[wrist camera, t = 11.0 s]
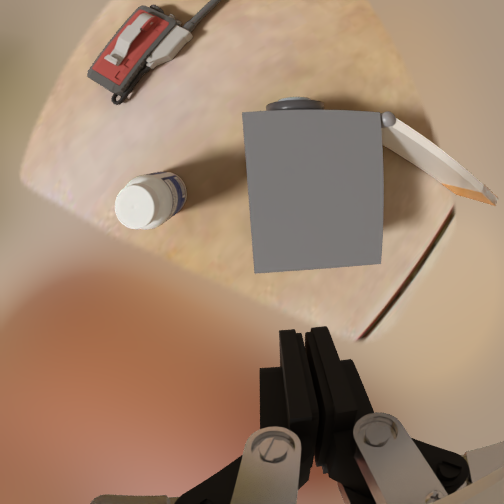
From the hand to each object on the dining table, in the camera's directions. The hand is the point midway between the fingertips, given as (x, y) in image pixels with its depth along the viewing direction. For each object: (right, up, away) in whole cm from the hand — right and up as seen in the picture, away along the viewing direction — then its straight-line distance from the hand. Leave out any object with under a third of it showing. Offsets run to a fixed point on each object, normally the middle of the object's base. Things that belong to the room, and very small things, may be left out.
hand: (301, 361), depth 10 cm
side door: (+18, +15, +21) cm, 32 cm away
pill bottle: (-12, +11, +23) cm, 28 cm away
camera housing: (+4, +12, +22) cm, 26 cm away
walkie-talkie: (-13, +31, +17) cm, 38 cm away
